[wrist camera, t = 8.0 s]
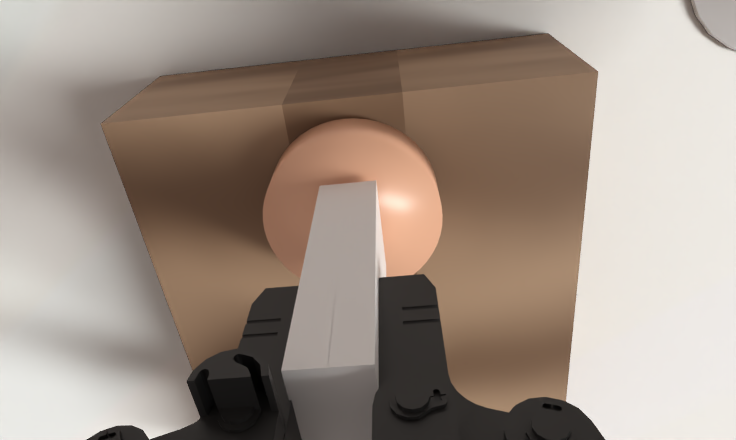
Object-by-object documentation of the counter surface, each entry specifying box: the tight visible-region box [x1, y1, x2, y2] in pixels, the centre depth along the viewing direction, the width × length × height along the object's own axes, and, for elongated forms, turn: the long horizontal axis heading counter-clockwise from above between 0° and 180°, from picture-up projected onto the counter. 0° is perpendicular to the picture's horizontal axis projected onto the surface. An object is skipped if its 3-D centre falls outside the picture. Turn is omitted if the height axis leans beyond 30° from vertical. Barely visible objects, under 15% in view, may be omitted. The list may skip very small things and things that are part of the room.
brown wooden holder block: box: [101, 33, 598, 412], centre depth 22 cm, size 20×14×5 cm
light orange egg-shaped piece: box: [263, 118, 443, 278], centre depth 18 cm, size 5×5×6 cm
